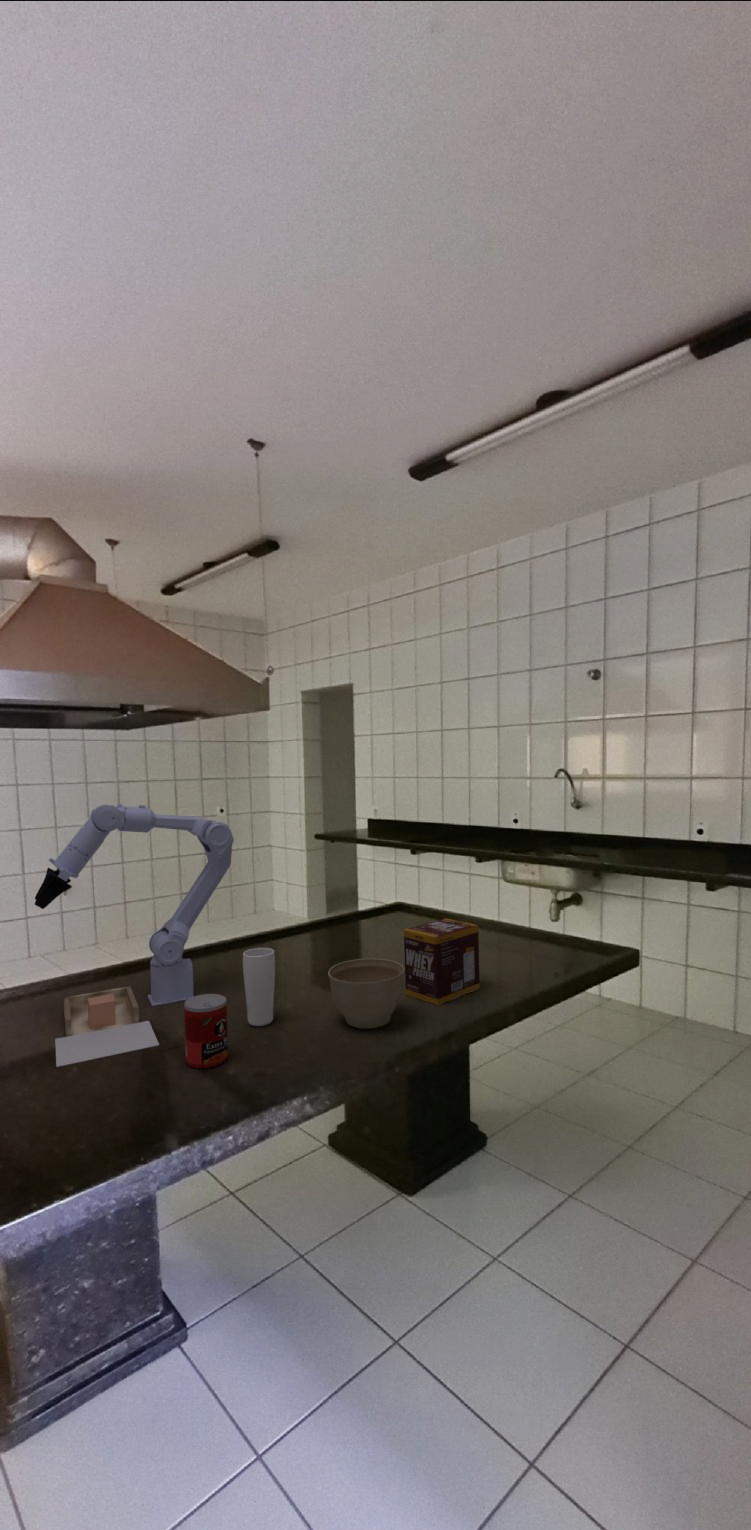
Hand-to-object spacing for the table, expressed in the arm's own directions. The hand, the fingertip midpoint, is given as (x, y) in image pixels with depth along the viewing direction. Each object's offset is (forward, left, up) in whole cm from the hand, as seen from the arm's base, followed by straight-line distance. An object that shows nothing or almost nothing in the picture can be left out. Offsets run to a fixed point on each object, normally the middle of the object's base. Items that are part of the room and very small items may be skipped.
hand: (38, 903), depth 140 cm
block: (-11, +8, -25) cm, 29 cm away
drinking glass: (-41, +24, -26) cm, 55 cm away
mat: (-11, +19, -26) cm, 34 cm away
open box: (-11, +5, -26) cm, 29 cm away
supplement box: (-84, +29, -26) cm, 93 cm away
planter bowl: (-61, +35, -26) cm, 76 cm away
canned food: (-27, +36, -26) cm, 53 cm away
